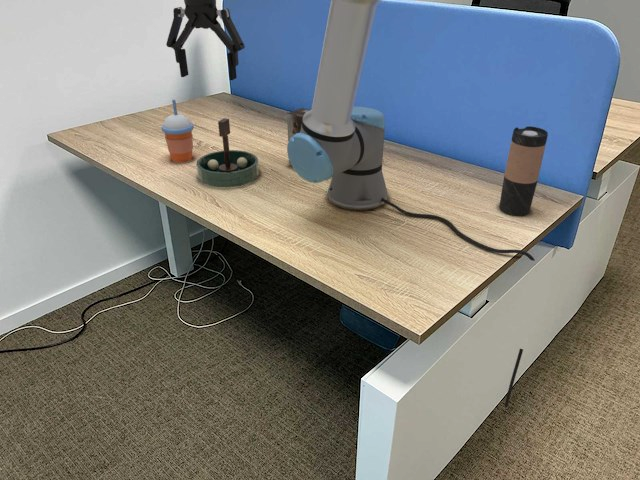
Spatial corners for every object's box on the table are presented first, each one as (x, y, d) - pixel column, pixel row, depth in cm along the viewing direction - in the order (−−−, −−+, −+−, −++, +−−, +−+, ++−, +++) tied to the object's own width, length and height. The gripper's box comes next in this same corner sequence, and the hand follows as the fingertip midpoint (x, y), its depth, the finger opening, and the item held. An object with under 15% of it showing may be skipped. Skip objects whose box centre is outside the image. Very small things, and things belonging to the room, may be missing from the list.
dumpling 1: (221, 169, 149) (220, 159, 148) (213, 172, 147) (212, 162, 146) (214, 166, 151) (213, 157, 149) (206, 169, 149) (204, 160, 147)
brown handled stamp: (241, 171, 148) (236, 118, 140) (232, 179, 144) (227, 124, 136) (224, 169, 149) (219, 116, 141) (216, 176, 145) (210, 122, 137)
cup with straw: (190, 166, 152) (181, 105, 143) (161, 164, 154) (151, 103, 145) (202, 155, 160) (195, 96, 151) (174, 153, 162) (166, 94, 152)
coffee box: (325, 168, 151) (326, 113, 143) (310, 175, 147) (309, 119, 139) (303, 160, 157) (302, 107, 148) (287, 166, 153) (286, 112, 144)
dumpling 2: (249, 167, 151) (249, 157, 149) (242, 170, 149) (241, 160, 147) (242, 164, 152) (241, 154, 151) (235, 167, 150) (234, 157, 149)
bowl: (271, 174, 148) (270, 159, 145) (227, 194, 136) (225, 178, 134) (230, 160, 157) (229, 145, 154) (185, 178, 146) (183, 162, 143)
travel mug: (526, 219, 125) (544, 139, 115) (494, 211, 128) (509, 133, 118) (533, 206, 130) (551, 129, 120) (502, 199, 134) (517, 123, 124)
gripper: (253, -15, 124) (259, 76, 135) (159, -17, 130) (172, 71, 140) (241, -12, 118) (248, 83, 129) (143, -14, 123) (157, 78, 134)
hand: (208, 77), depth 135 cm, fingers open, 13 cm apart
